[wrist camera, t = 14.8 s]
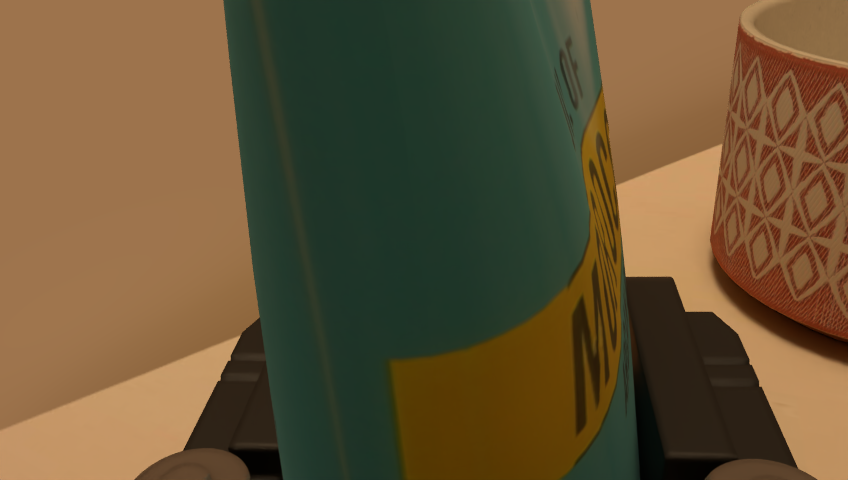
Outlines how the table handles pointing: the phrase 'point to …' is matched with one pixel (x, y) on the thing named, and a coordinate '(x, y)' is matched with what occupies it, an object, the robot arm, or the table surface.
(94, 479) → the table surface
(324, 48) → the tube
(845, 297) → the planter
